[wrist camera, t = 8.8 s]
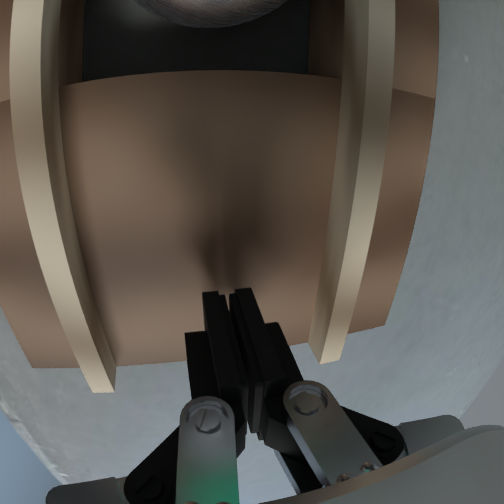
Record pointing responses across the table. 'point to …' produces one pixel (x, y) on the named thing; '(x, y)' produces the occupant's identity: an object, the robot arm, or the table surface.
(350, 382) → the table surface
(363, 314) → the walnut board
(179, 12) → the steel ball
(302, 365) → the table surface
